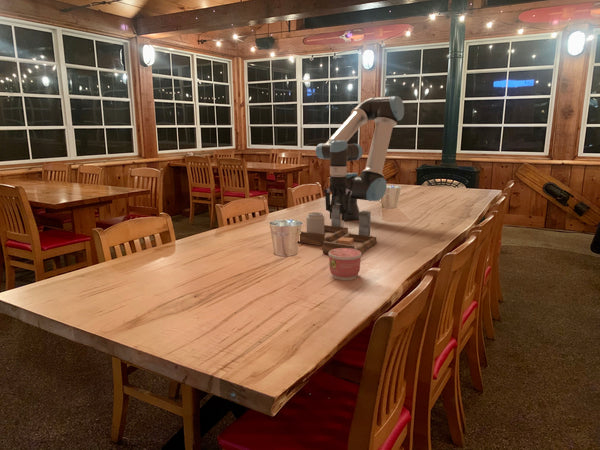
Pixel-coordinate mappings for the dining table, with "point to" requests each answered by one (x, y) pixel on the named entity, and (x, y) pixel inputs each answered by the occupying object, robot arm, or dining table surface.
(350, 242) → the cube
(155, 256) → the dining table surface
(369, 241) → the lane
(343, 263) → the container
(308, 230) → the can
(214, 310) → the dining table surface
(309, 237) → the frame
